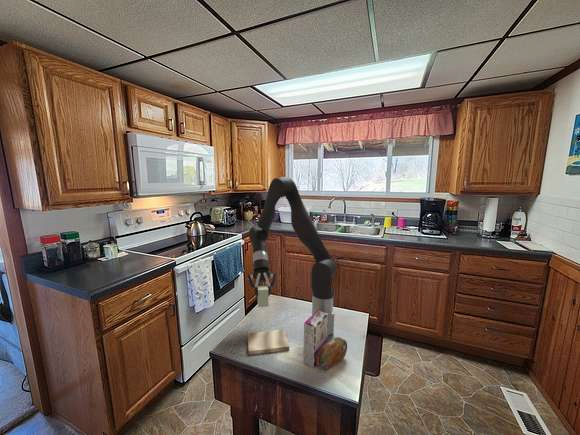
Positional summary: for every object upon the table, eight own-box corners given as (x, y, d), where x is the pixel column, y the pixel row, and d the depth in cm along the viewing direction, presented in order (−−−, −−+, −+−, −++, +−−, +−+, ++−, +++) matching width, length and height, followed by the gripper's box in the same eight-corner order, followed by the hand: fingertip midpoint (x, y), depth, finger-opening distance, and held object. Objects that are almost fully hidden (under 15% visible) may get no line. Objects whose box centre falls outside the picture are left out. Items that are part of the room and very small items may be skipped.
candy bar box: (316, 347, 100) (317, 309, 98) (327, 352, 98) (329, 313, 96) (302, 363, 91) (303, 321, 89) (314, 369, 88) (316, 326, 86)
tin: (320, 375, 85) (321, 353, 84) (314, 370, 88) (315, 348, 87) (347, 357, 95) (348, 336, 94) (340, 352, 97) (341, 332, 96)
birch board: (283, 332, 110) (283, 329, 110) (289, 349, 98) (289, 346, 98) (247, 336, 107) (247, 333, 106) (248, 354, 95) (248, 351, 95)
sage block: (267, 301, 115) (267, 285, 114) (268, 306, 111) (268, 289, 110) (257, 302, 114) (257, 286, 113) (258, 307, 110) (258, 290, 109)
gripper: (246, 259, 117) (247, 294, 106) (275, 257, 120) (279, 291, 109) (245, 266, 122) (246, 300, 112) (274, 264, 125) (277, 297, 115)
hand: (263, 295), depth 111 cm, fingers closed on sage block, 4 cm apart
